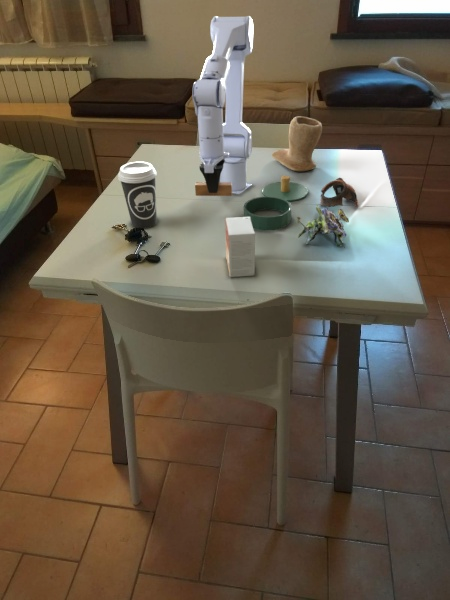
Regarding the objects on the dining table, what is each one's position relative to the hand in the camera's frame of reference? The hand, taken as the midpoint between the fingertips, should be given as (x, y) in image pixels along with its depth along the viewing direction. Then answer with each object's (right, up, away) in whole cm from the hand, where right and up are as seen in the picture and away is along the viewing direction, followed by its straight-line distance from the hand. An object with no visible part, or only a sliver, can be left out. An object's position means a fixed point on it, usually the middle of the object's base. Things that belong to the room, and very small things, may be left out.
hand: (213, 190), depth 119 cm
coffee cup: (-18, -7, +7) cm, 21 cm away
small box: (+6, -20, -12) cm, 24 cm away
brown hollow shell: (+34, -2, +12) cm, 36 cm away
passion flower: (+26, -14, -5) cm, 30 cm away
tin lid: (+20, +4, +18) cm, 27 cm away
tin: (+14, -7, +6) cm, 16 cm away
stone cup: (+26, +16, +36) cm, 47 cm away
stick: (0, -1, +1) cm, 1 cm away
